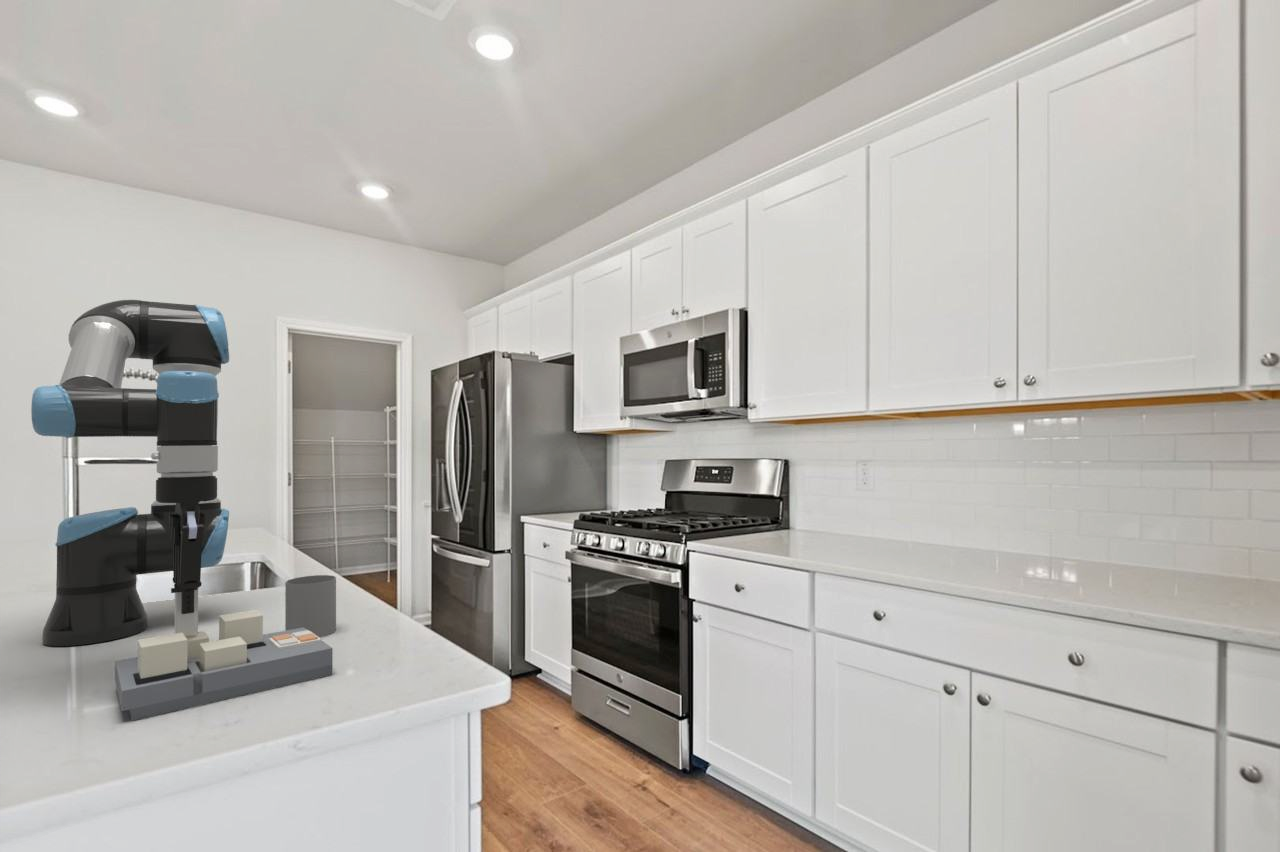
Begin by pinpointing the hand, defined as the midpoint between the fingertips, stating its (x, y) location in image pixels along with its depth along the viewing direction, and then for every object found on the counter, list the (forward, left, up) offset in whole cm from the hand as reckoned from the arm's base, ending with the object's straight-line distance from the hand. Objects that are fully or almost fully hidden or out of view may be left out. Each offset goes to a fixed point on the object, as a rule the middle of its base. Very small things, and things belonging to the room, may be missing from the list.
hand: (186, 634), depth 96 cm
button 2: (0, 0, -5) cm, 5 cm away
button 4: (0, +7, -3) cm, 7 cm away
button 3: (+8, +4, -5) cm, 10 cm away
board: (+4, +5, -7) cm, 10 cm away
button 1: (+8, -4, -3) cm, 9 cm away
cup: (-15, +21, -7) cm, 27 cm away
